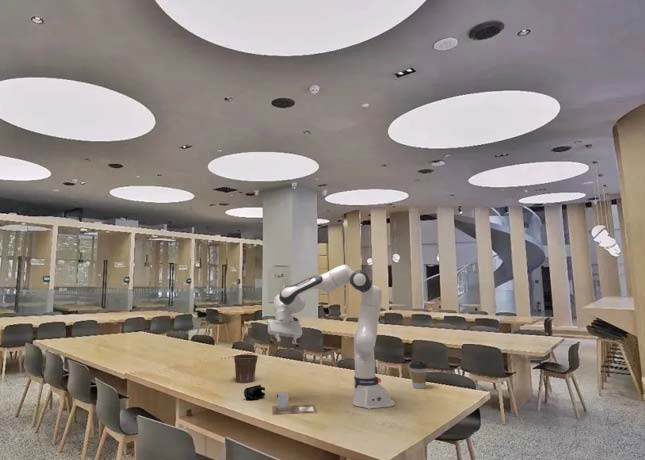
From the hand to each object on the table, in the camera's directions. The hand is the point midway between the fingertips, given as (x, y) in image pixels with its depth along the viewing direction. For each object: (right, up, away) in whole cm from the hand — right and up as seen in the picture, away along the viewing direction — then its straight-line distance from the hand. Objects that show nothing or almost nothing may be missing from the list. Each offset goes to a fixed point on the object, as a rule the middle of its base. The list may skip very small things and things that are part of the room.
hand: (286, 342), depth 216 cm
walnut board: (+5, -31, -14) cm, 35 cm away
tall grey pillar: (-1, -30, -14) cm, 33 cm away
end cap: (-19, -35, +11) cm, 41 cm away
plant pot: (-33, -41, +53) cm, 74 cm away
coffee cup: (+80, -38, +34) cm, 94 cm away
